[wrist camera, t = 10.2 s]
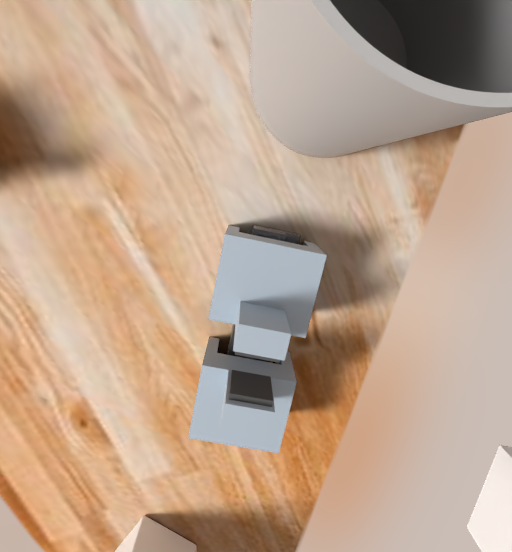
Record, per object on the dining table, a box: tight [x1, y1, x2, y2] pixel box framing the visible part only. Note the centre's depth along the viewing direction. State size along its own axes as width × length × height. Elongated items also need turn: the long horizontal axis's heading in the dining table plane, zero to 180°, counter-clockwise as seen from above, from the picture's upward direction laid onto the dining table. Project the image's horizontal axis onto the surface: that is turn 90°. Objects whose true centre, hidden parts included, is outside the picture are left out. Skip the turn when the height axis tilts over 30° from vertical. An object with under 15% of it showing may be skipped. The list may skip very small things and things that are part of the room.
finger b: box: [209, 225, 327, 363], centre depth 31 cm, size 8×8×11 cm
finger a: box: [188, 337, 297, 453], centre depth 34 cm, size 8×8×11 cm
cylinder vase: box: [250, 0, 512, 158], centre depth 21 cm, size 12×12×25 cm
